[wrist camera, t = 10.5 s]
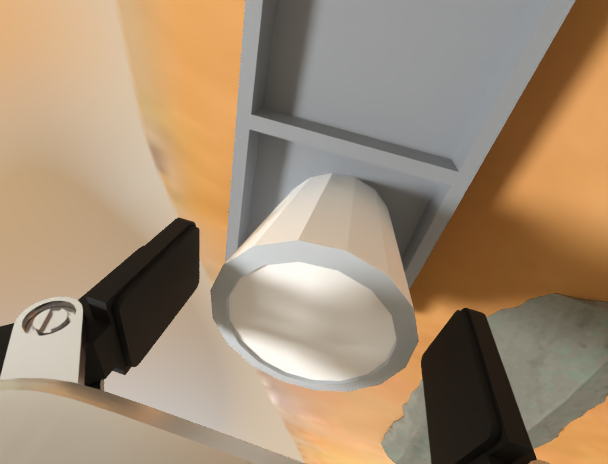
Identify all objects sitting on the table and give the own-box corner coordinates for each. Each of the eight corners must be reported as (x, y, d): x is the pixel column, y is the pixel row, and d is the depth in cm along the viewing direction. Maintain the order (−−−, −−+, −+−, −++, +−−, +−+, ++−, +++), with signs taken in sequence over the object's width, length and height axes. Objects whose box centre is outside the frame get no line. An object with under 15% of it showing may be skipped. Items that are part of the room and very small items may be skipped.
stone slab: (377, 427, 30) (483, 476, 28) (373, 458, 28) (488, 512, 25) (487, 249, 18) (689, 311, 16) (496, 277, 15) (733, 354, 13)
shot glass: (330, 128, 13) (290, 193, 7) (434, 228, 14) (471, 350, 9) (247, 222, 17) (175, 316, 11) (336, 295, 18) (316, 413, 12)
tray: (240, 256, 19) (223, 281, 17) (293, -212, 9) (267, -288, 7) (384, 300, 19) (384, 332, 17) (617, -146, 8) (695, -208, 6)
